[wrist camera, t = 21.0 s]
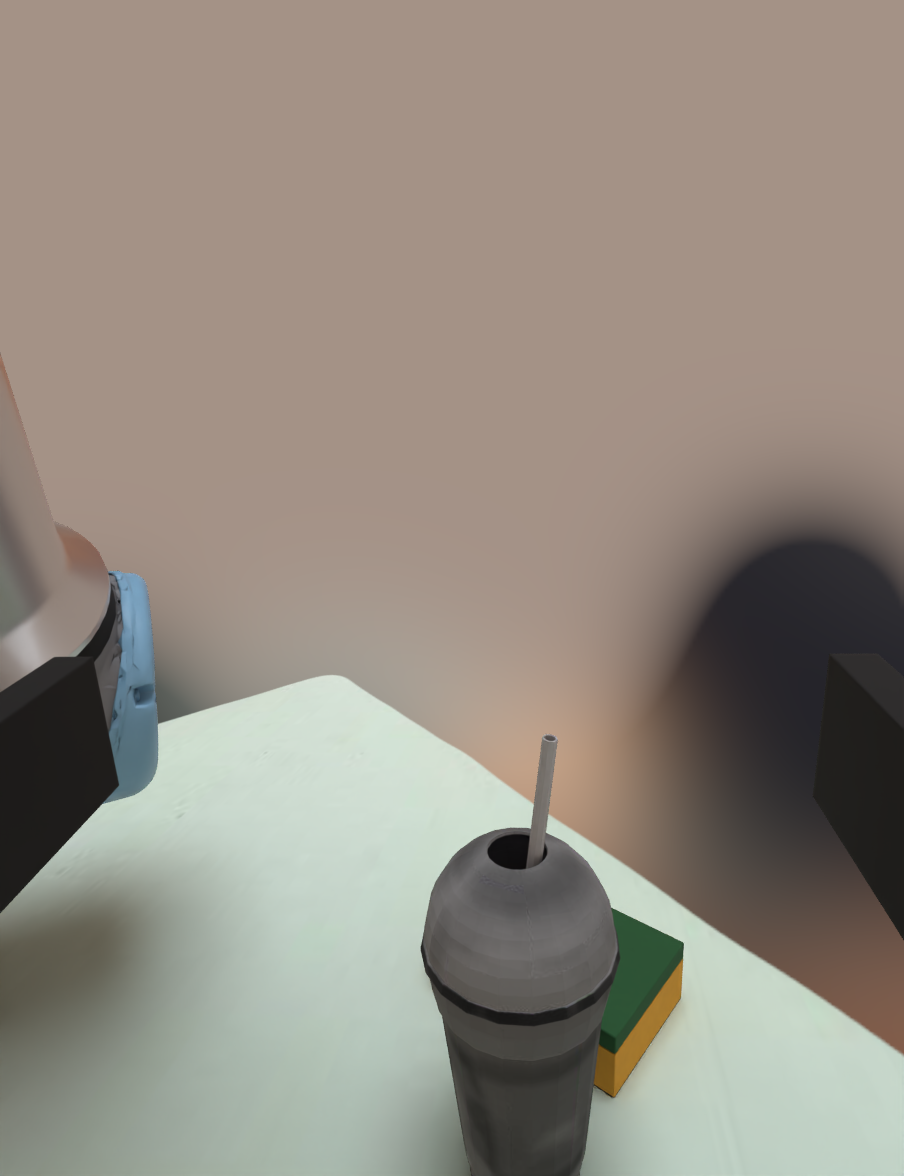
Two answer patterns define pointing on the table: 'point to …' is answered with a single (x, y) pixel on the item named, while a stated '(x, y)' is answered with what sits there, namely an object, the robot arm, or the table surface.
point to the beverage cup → (522, 990)
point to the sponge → (636, 998)
